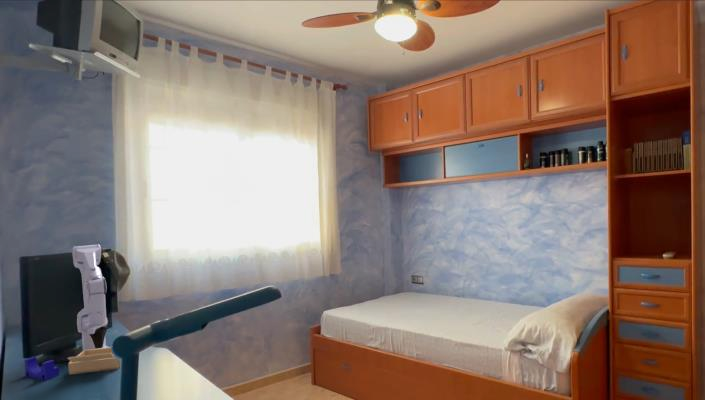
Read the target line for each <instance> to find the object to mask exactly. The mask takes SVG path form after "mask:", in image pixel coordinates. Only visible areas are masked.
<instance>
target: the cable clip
mask: <svg viewBox="0 0 705 400" xmlns="http://www.w3.org/2000/svg"><path fill="white" fill-rule="evenodd" d="M41 364H42V366H41V367H40V366H39V363H38V360H37V356H32V357H29V358H26V359H24V370H25V371H24V372H25V377H30V378H34V379H39V380H44V381H48V380H49V379H52V378H55V377H58V376H60V367H59V366H56V365H55V360H53V359H50V360H47V361H44V362H42V363H41Z"/></svg>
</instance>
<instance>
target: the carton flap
mask: <svg viewBox="0 0 705 400" xmlns="http://www.w3.org/2000/svg"><path fill="white" fill-rule="evenodd" d="M112 357H114V355H113V354H112V353H111V352H109V353H100V354H92V355H83V356H77V355H75V356H69V357H67V360H68V361H69V362H70V361H71V362H78V361H87V360H95V359H104V358H112Z"/></svg>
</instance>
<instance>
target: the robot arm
mask: <svg viewBox="0 0 705 400" xmlns="http://www.w3.org/2000/svg"><path fill="white" fill-rule="evenodd" d="M71 250H72V252H71V254H72V260H73V261H72V262H73V265H74V267H75V268H76V269H79V272H80V273H81V274H80V275H81V283H82V284H81V285H82V295H83V306H84V307H83V308H82V309H81V310H80V311H79V312H78V313H77V315H76V317H77V318H76V325H77V326H76V327H77V332H79V333H81V341H82V343H81V344H82V351H84V350H90V349H98V348H107V347H109V345H107V343H106V342H107V340H106V333H107V331H108V329H109V326H108V322H109V321H108V317H107V308H106V307H107V306H106V304H107V303H106V302H107V301H106V293H107V281H106V278H105V277H104V276H103V273H102V269H101V267H99V265H100V263H101V258H102V248H101V245H100V244H99V243H97V244H90V245H77V246H76V245H74V246H73V247H72V249H71Z"/></svg>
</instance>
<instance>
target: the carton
mask: <svg viewBox="0 0 705 400" xmlns="http://www.w3.org/2000/svg"><path fill="white" fill-rule="evenodd" d="M111 347H112V346H108V347H107V348H98V349H90V350H84V351H83V350H82V351H81V352H80V353H78V354H77V355H76V356H83V355H92V354H100V353H109V352H111V353H112V350H111ZM67 368H68V375H78V374H86V373H94V372H95V373H96V372H101V371H103V372H104V371H110V370H111V371H112V370H118V369H120V368H121V367H120V361H119V360H118V359H117V358H115V357H112V358H104V359H95V360H87V361H78V362H71V361H70V360H69V362H68V367H67Z"/></svg>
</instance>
